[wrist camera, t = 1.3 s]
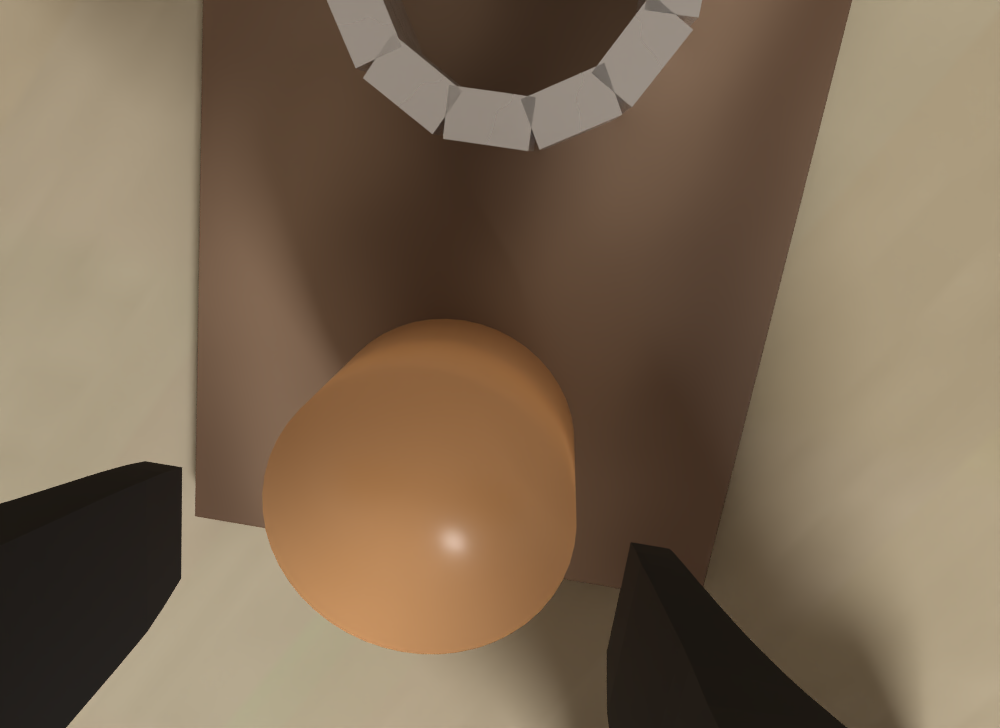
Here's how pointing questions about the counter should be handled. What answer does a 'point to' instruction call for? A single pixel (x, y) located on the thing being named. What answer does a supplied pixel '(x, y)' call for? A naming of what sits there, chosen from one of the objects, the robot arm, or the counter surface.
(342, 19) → the duct stub
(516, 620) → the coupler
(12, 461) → the counter surface
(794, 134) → the brown board
